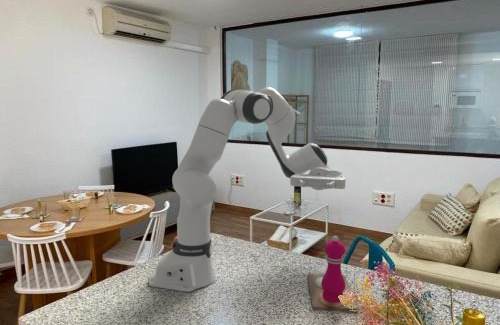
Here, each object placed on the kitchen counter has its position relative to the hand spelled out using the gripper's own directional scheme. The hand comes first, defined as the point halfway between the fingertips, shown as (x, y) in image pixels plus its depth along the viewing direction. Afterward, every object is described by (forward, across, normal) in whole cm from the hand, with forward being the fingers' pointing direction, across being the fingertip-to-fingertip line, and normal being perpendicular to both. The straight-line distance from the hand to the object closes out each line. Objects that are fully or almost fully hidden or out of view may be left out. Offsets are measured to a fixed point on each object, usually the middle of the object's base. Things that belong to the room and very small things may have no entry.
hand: (316, 185), depth 132 cm
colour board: (+15, +7, +32) cm, 36 cm away
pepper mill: (+21, +8, +31) cm, 38 cm away
